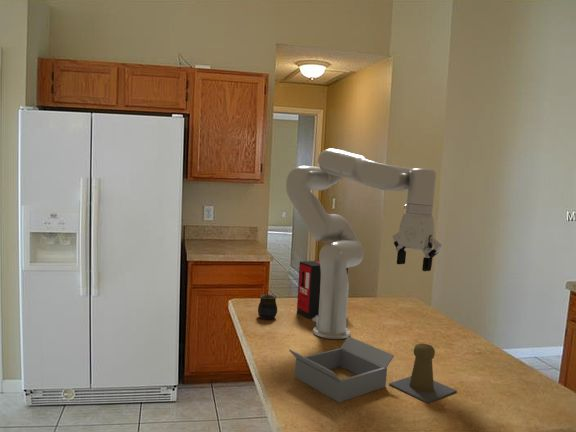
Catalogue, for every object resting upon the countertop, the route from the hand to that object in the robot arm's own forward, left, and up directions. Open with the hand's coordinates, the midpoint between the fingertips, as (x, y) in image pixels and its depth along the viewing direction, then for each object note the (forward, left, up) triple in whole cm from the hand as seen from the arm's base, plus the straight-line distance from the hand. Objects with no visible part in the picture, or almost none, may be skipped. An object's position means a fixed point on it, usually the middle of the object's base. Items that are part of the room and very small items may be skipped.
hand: (413, 267), depth 145 cm
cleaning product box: (-47, +7, -28) cm, 55 cm away
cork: (+17, -15, -27) cm, 35 cm away
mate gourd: (-52, -15, -28) cm, 61 cm away
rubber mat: (+17, -15, -27) cm, 35 cm away
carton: (+3, -31, -27) cm, 41 cm away
